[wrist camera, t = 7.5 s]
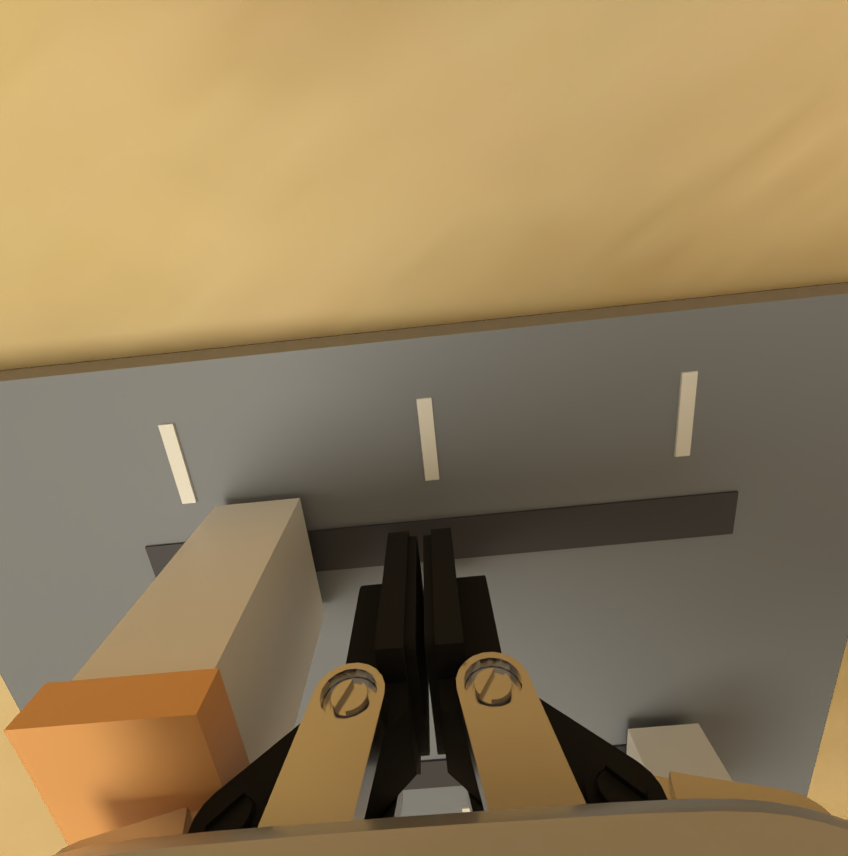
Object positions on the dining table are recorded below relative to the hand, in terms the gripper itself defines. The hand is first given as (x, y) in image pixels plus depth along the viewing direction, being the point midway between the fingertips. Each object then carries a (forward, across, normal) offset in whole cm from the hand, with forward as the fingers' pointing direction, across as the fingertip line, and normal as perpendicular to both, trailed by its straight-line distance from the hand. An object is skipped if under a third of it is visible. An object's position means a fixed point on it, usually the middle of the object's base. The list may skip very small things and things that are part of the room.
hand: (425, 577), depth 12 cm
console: (+4, +1, +5) cm, 6 cm away
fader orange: (+1, +4, 0) cm, 5 cm away
